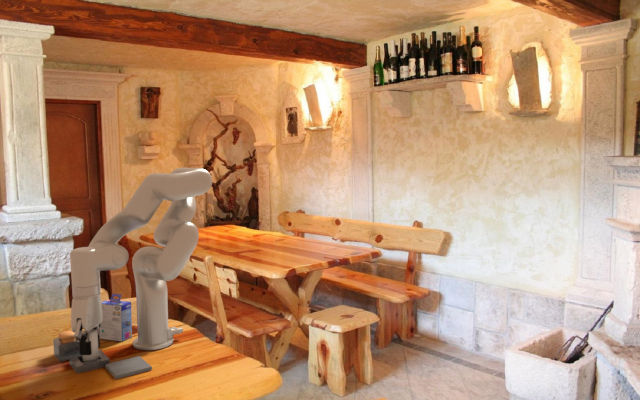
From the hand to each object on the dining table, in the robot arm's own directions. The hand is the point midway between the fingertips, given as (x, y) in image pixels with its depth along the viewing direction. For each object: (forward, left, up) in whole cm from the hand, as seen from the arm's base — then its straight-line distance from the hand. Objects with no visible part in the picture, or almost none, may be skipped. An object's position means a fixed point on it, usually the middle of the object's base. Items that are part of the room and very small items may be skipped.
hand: (90, 350), depth 157 cm
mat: (-8, +10, -4) cm, 13 cm away
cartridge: (0, 0, -3) cm, 3 cm away
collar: (0, 0, -4) cm, 4 cm away
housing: (+3, -11, -4) cm, 12 cm away
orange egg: (+3, -11, -3) cm, 12 cm away
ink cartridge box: (-13, -18, -4) cm, 22 cm away
